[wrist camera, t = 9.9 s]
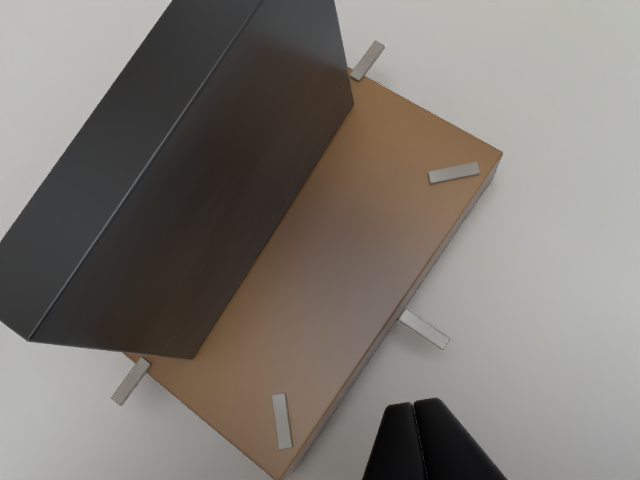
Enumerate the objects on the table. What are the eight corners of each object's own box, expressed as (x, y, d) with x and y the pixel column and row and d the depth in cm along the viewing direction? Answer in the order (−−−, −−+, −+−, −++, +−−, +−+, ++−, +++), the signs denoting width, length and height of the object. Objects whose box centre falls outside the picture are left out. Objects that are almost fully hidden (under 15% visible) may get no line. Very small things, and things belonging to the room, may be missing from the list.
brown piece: (315, 541, 16) (301, 564, 14) (14, 284, 19) (-33, 273, 17) (558, 174, 17) (578, 146, 15) (238, 0, 21) (219, -42, 19)
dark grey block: (192, 361, 16) (17, 342, 9) (149, 331, 16) (-51, 291, 9) (355, 103, 17) (317, -95, 10) (311, 82, 17) (245, -122, 10)
